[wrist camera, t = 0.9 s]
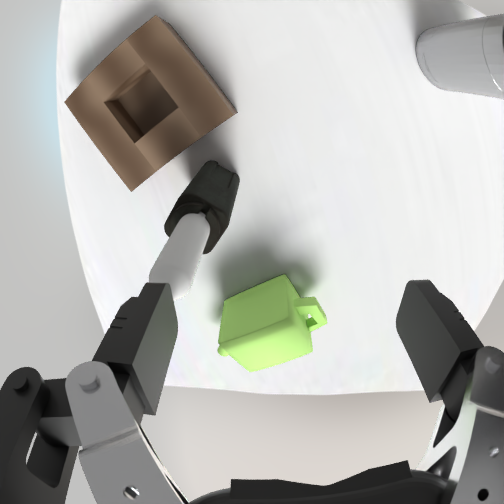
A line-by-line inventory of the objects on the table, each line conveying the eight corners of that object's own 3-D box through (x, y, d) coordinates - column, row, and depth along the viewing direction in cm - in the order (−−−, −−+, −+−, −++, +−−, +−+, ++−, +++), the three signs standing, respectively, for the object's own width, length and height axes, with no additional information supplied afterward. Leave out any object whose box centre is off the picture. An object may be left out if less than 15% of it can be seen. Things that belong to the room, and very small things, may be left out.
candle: (243, 177, 38) (213, 310, 16) (222, 209, 40) (176, 358, 18) (208, 157, 36) (128, 264, 15) (189, 189, 39) (105, 321, 17)
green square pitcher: (234, 343, 53) (230, 386, 45) (201, 308, 49) (191, 353, 41) (327, 307, 48) (337, 352, 40) (302, 264, 43) (310, 310, 35)
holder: (169, 23, 27) (155, 15, 23) (237, 112, 33) (233, 115, 29) (84, 98, 32) (64, 101, 28) (145, 179, 38) (131, 192, 34)
